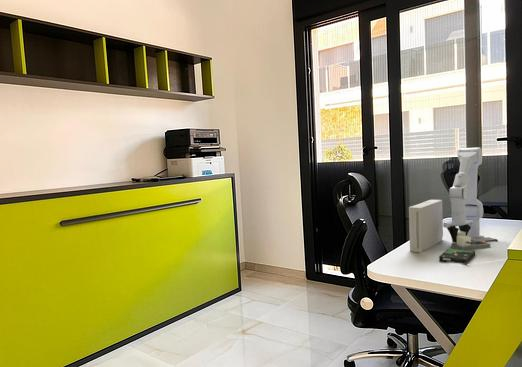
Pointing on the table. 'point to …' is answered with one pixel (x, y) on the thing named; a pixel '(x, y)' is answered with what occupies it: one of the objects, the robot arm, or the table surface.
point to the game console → (425, 225)
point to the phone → (485, 239)
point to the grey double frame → (472, 245)
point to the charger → (460, 234)
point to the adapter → (464, 240)
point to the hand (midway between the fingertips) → (458, 241)
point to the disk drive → (457, 256)
